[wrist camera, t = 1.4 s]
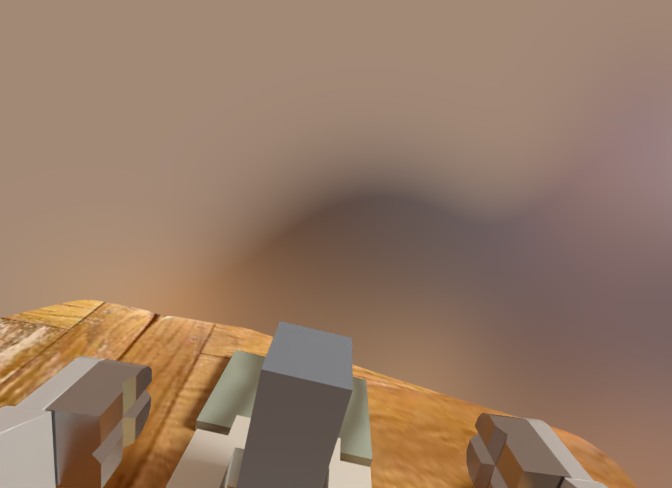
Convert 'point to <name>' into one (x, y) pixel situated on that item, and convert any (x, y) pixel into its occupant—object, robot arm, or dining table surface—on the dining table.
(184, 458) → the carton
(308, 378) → the slate box
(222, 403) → the sage board
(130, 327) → the dining table surface
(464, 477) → the dining table surface
